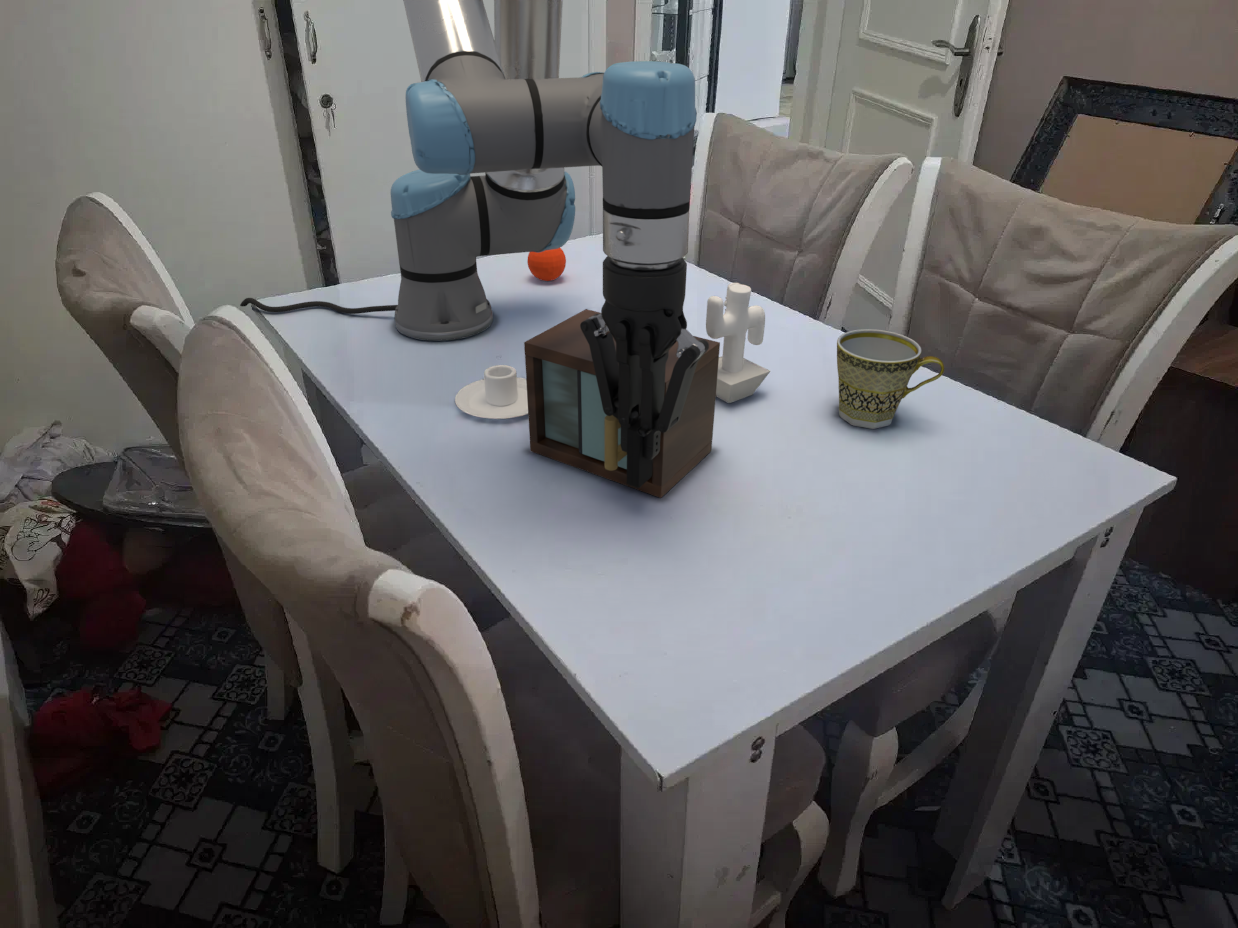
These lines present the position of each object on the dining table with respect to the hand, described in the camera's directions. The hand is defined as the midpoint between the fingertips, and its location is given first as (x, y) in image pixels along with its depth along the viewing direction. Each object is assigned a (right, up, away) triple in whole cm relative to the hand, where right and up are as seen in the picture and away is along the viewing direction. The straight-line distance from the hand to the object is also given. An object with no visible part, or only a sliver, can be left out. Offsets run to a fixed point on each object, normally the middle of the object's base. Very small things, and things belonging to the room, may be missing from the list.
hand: (639, 479), depth 85 cm
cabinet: (-2, +3, +12) cm, 13 cm away
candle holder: (-18, +10, +23) cm, 31 cm away
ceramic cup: (+31, +7, +20) cm, 38 cm away
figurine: (+13, +11, +26) cm, 31 cm away
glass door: (-4, +1, +5) cm, 7 cm away
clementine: (-15, +35, +64) cm, 75 cm away
